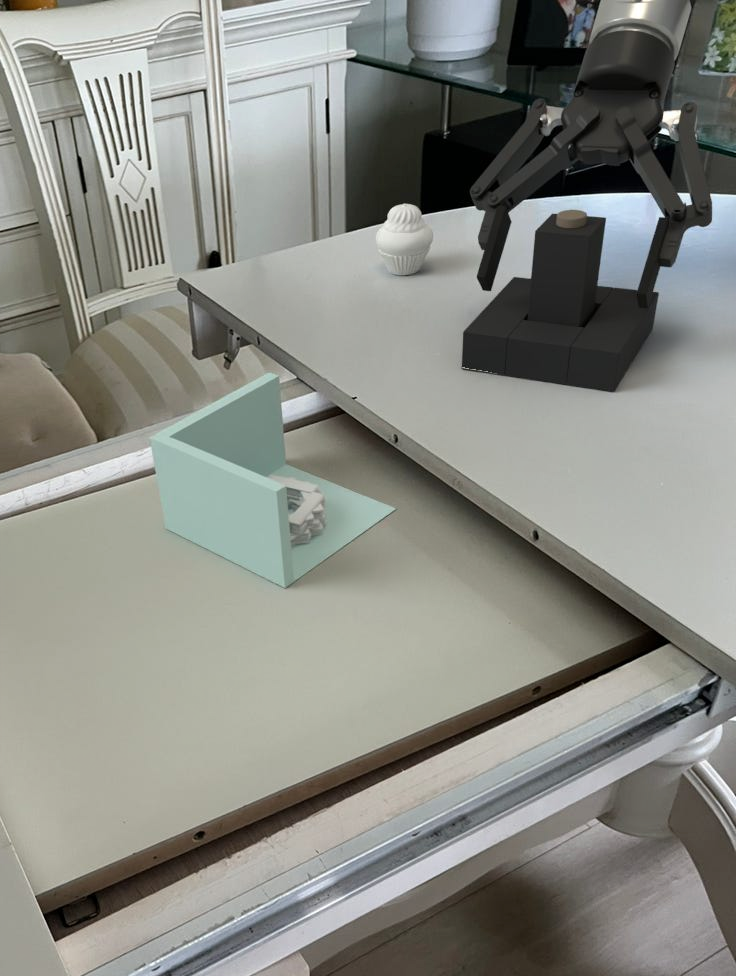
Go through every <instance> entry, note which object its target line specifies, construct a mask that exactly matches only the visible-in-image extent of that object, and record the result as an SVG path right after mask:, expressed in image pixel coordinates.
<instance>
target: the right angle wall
mask: <svg viewBox="0 0 736 976" xmlns="http://www.w3.org/2000/svg"><path fill="white" fill-rule="evenodd" d="M281 393H282V392H281V381H280V375H278V374H275V373H272V372H267V373H265V374H264V375H261V376H259V377H258V378H256V379H254V380H252V381H250V382H249V383H247V384H245V385H243V386H241V387H239V388H237V389H236V390H234V391H232V392H230V393H229V394H226V395H225V396H223V397H221V398H219V399H217V400H216V401H214V402H212V403H210V404H207V405H206V406H205V407H203V408H201V409H199V410H197V411H196V412H193V413H192V414H189V415H188V416H186V417H184V418H182V419H180V420H179V421H177V422H175V423H173V424H172V425H169V426H168V427H166V428H165V429H161V430H160V431H159V432H157V433H155V434H153V435H151V436H150V437H149V443H150V448H151V454H152V459H153V460H152V461H153V463H154V465H153V466H154V471H155V476H156V483H157V489H158V494H159V499H160V505H161V511H162V517H163V523H164V527H165V529H166V530H168V531H170V532H172V533H174V534H176V535H178V536H179V537H182V538H184V539H186V540H187V541H190V542H192V543H194V544H195V545H198V546H199V547H202V548H204V549H205V550H208V551H209V552H212V553H213V554H216V555H218V556H220V557H221V558H224V559H226V560H228V561H230V562H231V563H234V564H236V565H238V566H239V567H241V568H243V569H245V570H248V571H249V572H252V573H253V574H256V575H258V576H260V577H262V578H263V579H265V580H267V581H269V582H272V583H274V584H276V585H277V586H279V587H282V588H284V589H286V588H288V587H290V585H292V584H293V583H294V582H296V581H298V579H300V578H301V577H303V576H304V575H306V574H308V573H309V572H310V571H312V570H313V569H314V568H316V567H317V566H318V565H320V564H321V563H322V562H324V561H325V560H327V559H328V558H329V557H331V556H333V555H334V554H335V553H337V552H338V551H340V550H341V549H343V547H345V546H346V545H348V544H349V543H350V542H352V541H353V540H355V539H356V538H357V537H359V536H361V534H363V533H365V532H366V531H368V530H369V529H370V528H371V527H373V526H374V525H376V524H378V522H380V521H382V520H383V519H384V518H386V517H387V516H388V515H390V514H391V513H392V512H394V511H395V510H397V508H396V507H394V506H391V505H389V504H386V503H385V502H384V503H383V502H382V501H379V500H376V499H374V498H371V497H368V496H366V495H364V494H361V493H358V492H356V491H354V490H351V489H349V488H346V487H343V486H341V485H338V484H336V483H333V482H331V481H329V480H326V479H324V478H321V477H319V476H316V475H314V474H312V473H309V472H307V471H304V470H301V469H299V468H297V467H294V466H291V465H289V464H287V458H286V457H287V455H286V445H285V444H286V443H285V432H284V420H283V408H282V407H283V406H282V395H281Z"/></svg>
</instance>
